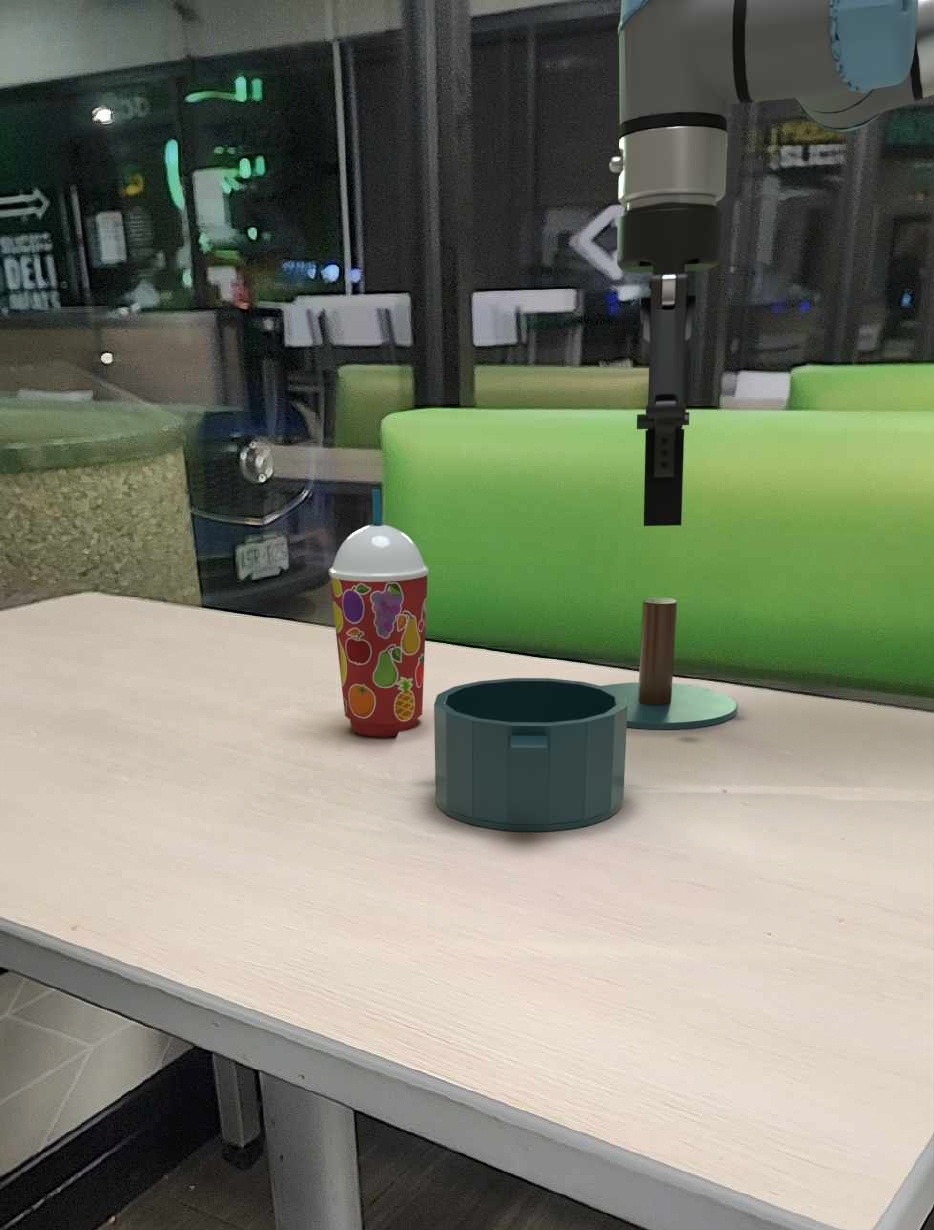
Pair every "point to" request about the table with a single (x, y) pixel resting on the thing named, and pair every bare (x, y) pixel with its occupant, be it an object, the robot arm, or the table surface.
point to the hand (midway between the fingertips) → (662, 518)
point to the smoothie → (380, 627)
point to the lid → (667, 680)
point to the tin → (530, 753)
